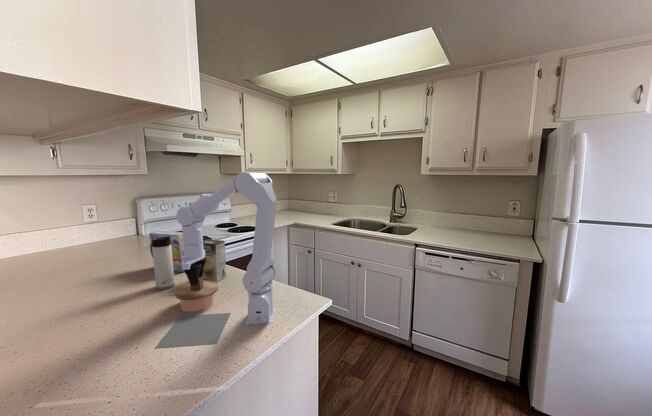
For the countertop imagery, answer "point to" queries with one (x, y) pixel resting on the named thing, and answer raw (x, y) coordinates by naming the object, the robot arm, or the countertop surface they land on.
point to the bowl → (197, 304)
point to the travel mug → (163, 263)
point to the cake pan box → (175, 245)
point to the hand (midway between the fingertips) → (196, 282)
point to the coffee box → (214, 260)
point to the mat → (195, 330)
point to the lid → (196, 290)
